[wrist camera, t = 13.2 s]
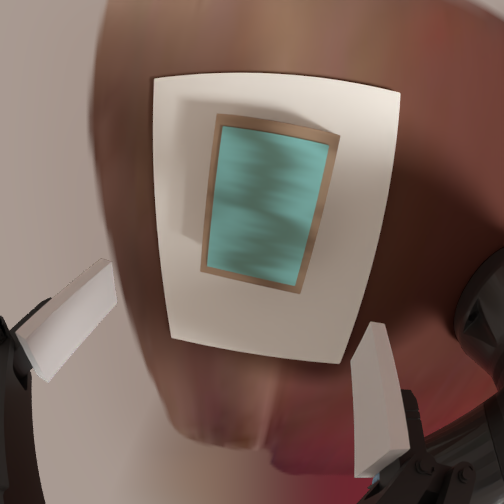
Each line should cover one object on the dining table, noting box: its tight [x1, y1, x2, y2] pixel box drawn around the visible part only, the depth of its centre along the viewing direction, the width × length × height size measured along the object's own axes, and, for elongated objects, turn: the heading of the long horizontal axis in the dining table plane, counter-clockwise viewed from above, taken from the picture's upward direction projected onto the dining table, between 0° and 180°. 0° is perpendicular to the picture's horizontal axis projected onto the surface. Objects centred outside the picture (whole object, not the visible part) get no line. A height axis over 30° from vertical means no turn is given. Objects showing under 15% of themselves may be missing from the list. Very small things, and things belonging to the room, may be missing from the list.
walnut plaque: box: [200, 113, 340, 294], centre depth 21 cm, size 8×4×12 cm
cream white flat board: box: [153, 73, 400, 364], centre depth 25 cm, size 28×20×1 cm
